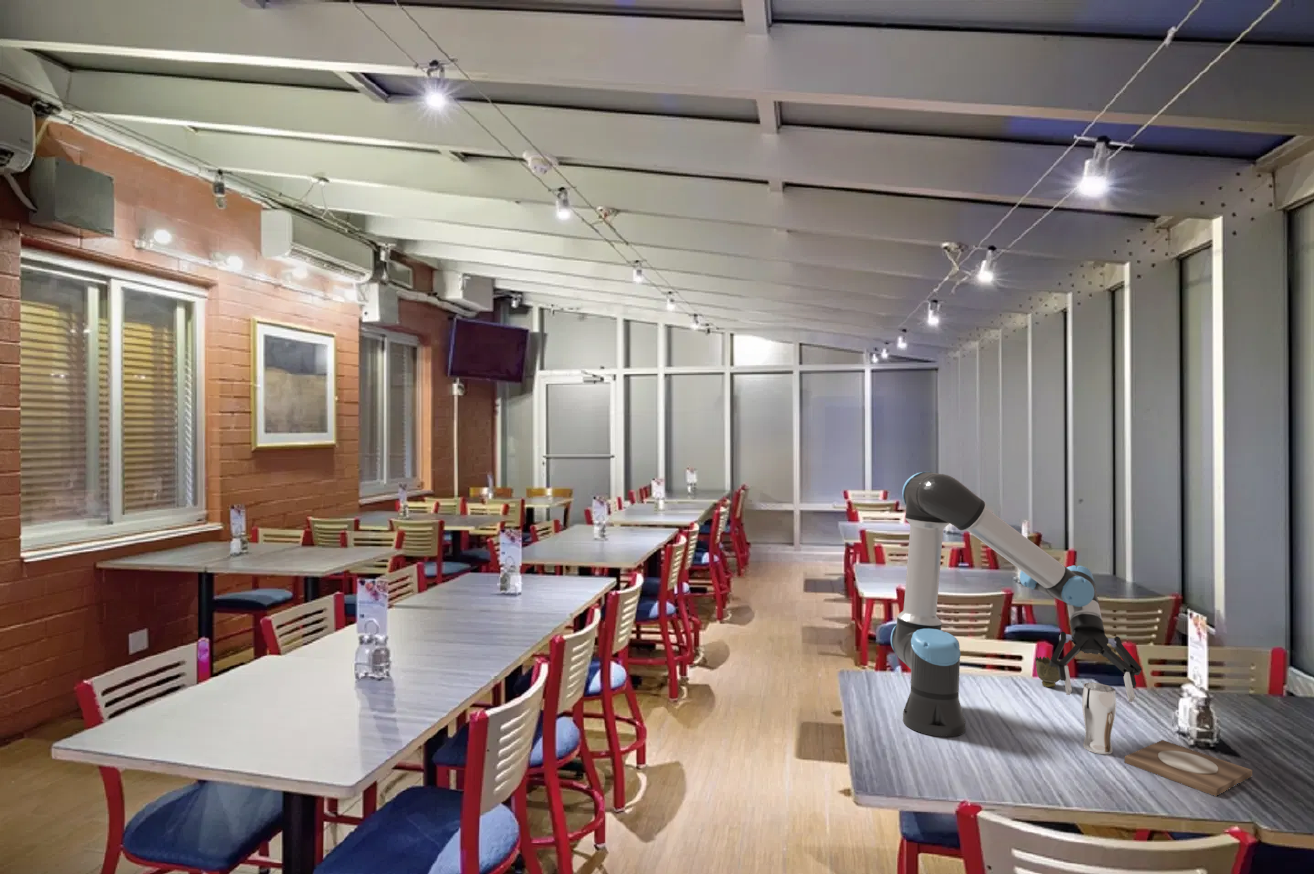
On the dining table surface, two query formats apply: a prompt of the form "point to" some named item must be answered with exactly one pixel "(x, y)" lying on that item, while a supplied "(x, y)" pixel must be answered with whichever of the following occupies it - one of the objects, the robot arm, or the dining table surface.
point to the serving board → (1189, 767)
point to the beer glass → (1098, 717)
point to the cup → (1047, 672)
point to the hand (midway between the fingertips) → (1100, 696)
